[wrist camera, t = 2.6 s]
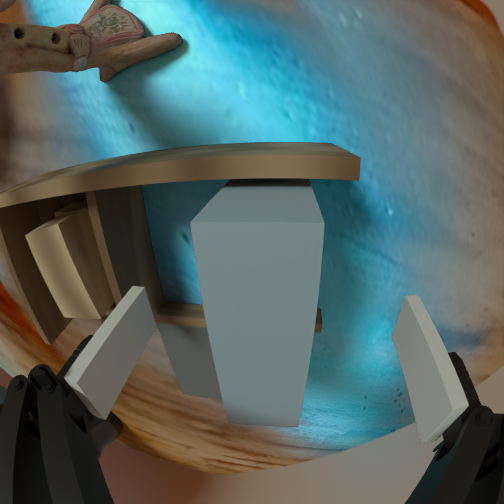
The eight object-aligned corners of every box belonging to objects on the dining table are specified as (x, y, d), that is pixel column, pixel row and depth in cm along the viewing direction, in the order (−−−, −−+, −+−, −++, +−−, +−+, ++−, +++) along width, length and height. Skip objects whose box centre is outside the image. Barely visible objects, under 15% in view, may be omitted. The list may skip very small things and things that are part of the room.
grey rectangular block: (253, 302, 24) (228, 422, 14) (246, 163, 19) (190, 222, 8) (298, 303, 24) (297, 427, 13) (302, 163, 18) (324, 223, 8)
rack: (83, 299, 27) (45, 342, 20) (47, 172, 21) (-12, 198, 14) (319, 317, 24) (325, 388, 17) (331, 143, 17) (360, 157, 10)
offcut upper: (84, 295, 23) (64, 317, 20) (51, 219, 19) (25, 235, 16) (121, 293, 22) (101, 318, 19) (86, 206, 18) (57, 223, 15)
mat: (183, 391, 33) (182, 393, 32) (155, 312, 26) (154, 314, 26) (273, 401, 31) (273, 403, 31) (275, 320, 25) (275, 323, 24)
